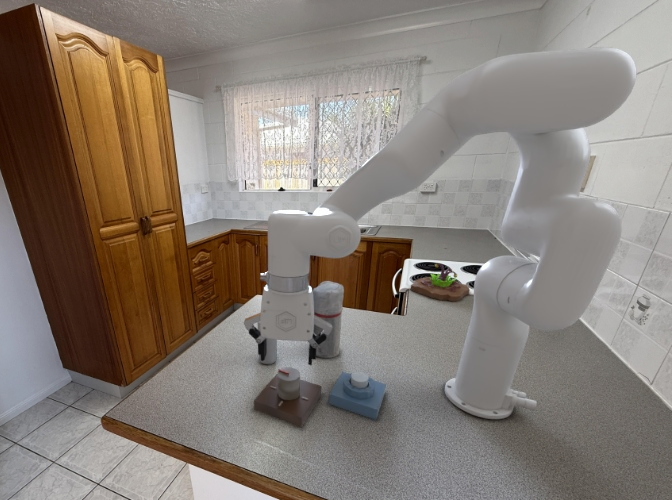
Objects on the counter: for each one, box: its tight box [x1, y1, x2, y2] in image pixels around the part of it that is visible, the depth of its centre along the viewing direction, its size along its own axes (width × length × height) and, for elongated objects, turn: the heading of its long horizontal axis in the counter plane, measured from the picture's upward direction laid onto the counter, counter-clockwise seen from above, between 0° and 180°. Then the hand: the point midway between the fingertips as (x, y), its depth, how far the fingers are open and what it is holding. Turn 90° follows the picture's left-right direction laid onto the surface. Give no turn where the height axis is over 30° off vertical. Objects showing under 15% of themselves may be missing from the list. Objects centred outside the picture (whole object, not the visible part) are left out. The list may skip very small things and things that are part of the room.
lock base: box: [253, 373, 323, 429], centre depth 68 cm, size 11×11×3 cm
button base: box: [328, 371, 387, 421], centre depth 68 cm, size 10×9×4 cm
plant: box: [410, 263, 471, 302], centre depth 124 cm, size 20×20×11 cm
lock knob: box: [276, 366, 301, 400], centre depth 66 cm, size 5×5×5 cm
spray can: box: [312, 280, 345, 359], centre depth 83 cm, size 8×8×20 cm
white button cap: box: [350, 371, 369, 389], centre depth 67 cm, size 4×4×2 cm
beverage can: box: [257, 321, 278, 365], centre depth 81 cm, size 5×5×12 cm
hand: (286, 359), depth 64 cm, fingers open, 9 cm apart
